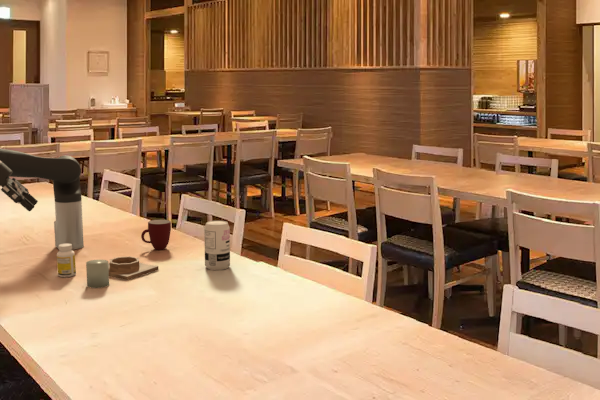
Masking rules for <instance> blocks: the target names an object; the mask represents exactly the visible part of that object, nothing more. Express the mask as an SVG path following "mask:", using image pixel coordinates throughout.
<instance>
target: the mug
mask: <svg viewBox="0 0 600 400" xmlns="http://www.w3.org/2000/svg"><path fill="white" fill-rule="evenodd" d="M171 230H172V222H171V220H168V219H153V220H149V221H148V222H147V229H144V230H143V231H142V232H141V240H142V242H144V243H146V244H151V246H152V247H153V249H154V250H155V251H163V250H166V249H167V247H168V245H169V243H170V237H171ZM147 233H148V236H149V240H146V239H145V234H147Z"/></svg>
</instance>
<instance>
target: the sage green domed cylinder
mask: <svg viewBox="0 0 600 400" xmlns="http://www.w3.org/2000/svg"><path fill="white" fill-rule="evenodd" d="M108 263H109V261H108V260H107V259H91V260H88V261H86V262H85V264H86V265H85V267H86V271H85V272H86V286H87V287H88V288H90V287H91V289H102V288H106V287H108V286H110V277H109V265H108ZM101 287H102V288H101Z"/></svg>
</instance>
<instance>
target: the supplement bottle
mask: <svg viewBox="0 0 600 400" xmlns="http://www.w3.org/2000/svg"><path fill="white" fill-rule="evenodd" d="M71 249H72V244H68V243H66V244H60V245H59V249H58V250H59V251H57V253H56V265H57V266H56V267H57V276H58V277H59V278H68V277H69V278H70V277H71V278H72V277H73V276H75V275H76V274H77V271H76V268H77V267H76V254H75V251H74V250H71Z"/></svg>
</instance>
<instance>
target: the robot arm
mask: <svg viewBox="0 0 600 400" xmlns="http://www.w3.org/2000/svg"><path fill="white" fill-rule="evenodd" d="M81 174H82V168H81V164H80V163H79V161H78V160H77V159H75V157H73V156H71V155H61V156H59V157H42V156H38V155H34V154H30V153H26V152H23V151H22V152H21V151H18V150H13V149H4V148H0V187H2V188H0V190H1V192H3V193H4V194H5V195H6V196H7V197H8V198H9V199H10V200H12V201H13V203H15V204H20V205H21V207H23V208H24V209H26V211H28V212H31V211H32V210H33V209H34V208H35V206H36V205H37V204H38V202H39V201H38V199H36V198H35V197H34V196H33V195H32V194H31V193H30V192H29V190H28V188H26V186H24V184H22V183H21V182H20V181H18V179H17V178H38V179H45V180H51V181H52V183H53V184H52V186H53V196H54V209H55V212H54V214H55V220H54V222H53V229H54V247H55V248H57V249H58V250H59V245H60V244H66V243H68V244H72V249H71V250H72V251H74V250H77V249H81V248H83V247H85V246H84V245H85V244H84V242H85V241H84V225H83V224H84V223H83V205H82V204H83V202H82V190H81V189H82V188H81V181H80V180H81Z"/></svg>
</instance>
